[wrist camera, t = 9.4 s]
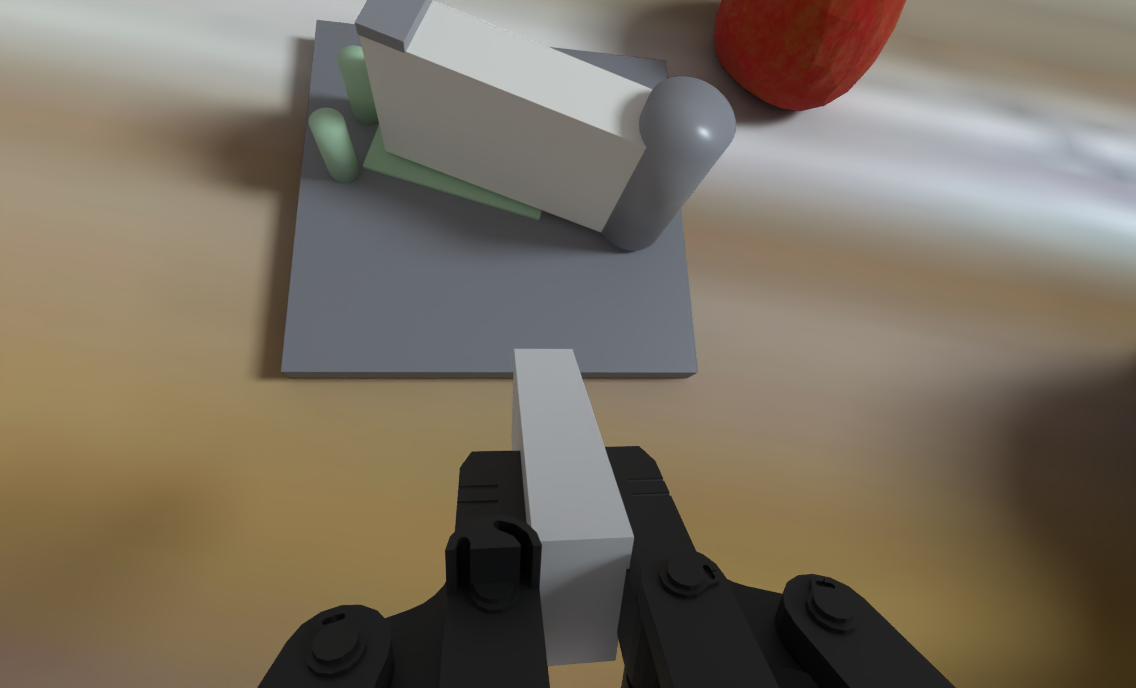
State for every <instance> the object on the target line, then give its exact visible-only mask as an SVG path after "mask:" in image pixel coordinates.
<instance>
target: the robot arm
mask: <svg viewBox="0 0 1136 688" xmlns="http://www.w3.org/2000/svg"><path fill="white" fill-rule="evenodd" d="M445 560H446V583H445V584H444V586H443V587H442V588H441V589H440V590H439V591H438V592H437V593H436V594H435V595H434V596H433V597H432V598H430V599H429V600H427V601H426V602H425V603H423V604H421V605H419V606H417V607H414V608H412V609H410V610H407V611H405V612H402V613H399V614H396V615H393V616H390V617H387V618H384V617H383V616H382V615H381V614H380V613H379V612H378V611H377V610H374V609H371V608H369V607H366V606H363V605H341V606H338V607H335V608H332V609H329V610H326V611H323V612H320V613H319V614H317V615H316V616H314V617H313V618H311V619H310V620H308V621H307V622H305V623H303V624H302V625H301V626H300V627H299V628H298V629H297V631H296V632H295V633H294V634H293V635H292V636H291V637H290V639H289V640H288V641H287V642H286V644H285V645H284V647H283V649H282V650H281V652H280V653H279V655H278V656H277V658H276V659H275V661H274V663H273V664H272V666H271V667H270V669H269V670H268V672H267V673H266V675H265V677H264V678H263V680H262V681H261V683H260V684H259V686H258V688H550V684H549V675H548V666H553V665H565V664H577V663H590V662H602V661H614V660H615V659H616V653H617V646H618V639H619V644H620V648H621V652H622V656H623V661H624V665H625V667H624V673H623V680H622V686H621V688H955V687H954V686H953V685H952V684H951V683H950V682H949V681H948V680H947V679H946V678H945V677H944V676H943V675H942V674H941V673H940V672H939V671H938V670H937V669H936V668H935V667H934V666H933V665H932V664H931V663H930V662H929V661H928V660H927V659H926V658H925V657H924V656H923V655H922V654H921V653H919V652H918V651H917V650H916V649H915V648H914V647H913V646H912V645H911V644H910V643H909V642H908V641H907V640H906V639H905V638H904V637H903V636H902V635H901V634H900V633H899V632H898V631H897V630H896V629H895V628H894V627H893V626H892V625H891V624H890V623H889V622H888V621H887V620H886V619H885V618H884V617H883V616H882V615H881V614H879V613H878V612H877V611H876V610H875V609H874V608H873V607H872V606H871V605H870V604H869V603H868V602H867V601H866V600H865V599H864V598H863V597H862V596H860V595H859V594H858V593H856V592H855V591H854V590H852V589H851V588H850V587H849V586H847V585H845V584H843V583H840V582H838V581H836V580H834V579H832V578H830V577H825V576H820V575H815V574H807V575H798V576H796V577H795V578H793V579H791V580H790V581H788V582H787V584H786V586H785V589H784V591H783V594H781V593H776V592H771V591H767V590H762V589H758V588H753V587H748V586H745V585H741V584H738V583H735V582H732V581H730V580H728V579H726V577H725V576H724V574H723V573H722V571H721V570H720V569H719V567H718V566H717V565H716V564H715V563H714V562H713V561H711V560H710V559H709V558H707V557H706V556H705V555H703V554H701V553H699V552H697V551H696V550H695V548H694V545H693V543H692V541H691V539H690V537H689V534H688V532H687V530H686V528H685V526H684V523H683V521H682V519H681V517H680V515H679V512H678V510H677V508H676V506H675V504H674V501H673V499H672V497H671V496H670V495H669V490H668V488H667V486H666V484H665V481H663V477H662V475H661V473H660V470H659V468H658V466H657V464H656V462H655V460H654V459H653V458H652V457H650V456H649V455H648V454H647V453H646V452H645V451H644V450H643V449H642V448H640V447H639V446H625V447H604V443H603V440H602V437H601V434H600V431H599V428H598V425H597V422H596V419H595V416H594V413H593V410H592V407H591V404H590V401H589V398H588V395H587V392H586V389H585V386H584V383H583V379H582V376H581V373H580V370H579V367H578V364H577V361H576V358H575V355H574V352H573V349H514V372H513V408H512V451H479V452H471V453H470V455H469V456H468V457H467V459H466V460H465V462H464V463H463V464H462V466H461V467H460V474H459V489H458V499H457V512H456V525H455V532H454V533H453V534H452V535H451V536H450V538H449V541H448V544H447V547H446V550H445Z"/></svg>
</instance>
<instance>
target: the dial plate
mask: <svg viewBox="0 0 1136 688" xmlns="http://www.w3.org/2000/svg"><path fill="white" fill-rule="evenodd" d="M550 48H552V49H555V50H557V51H560V52H562V53H565V54H567V55H570V56H572V57H574V58H577V59H579V60H582V61H584V62H587V63H589V64H592V65H594V66H596V67H599V68H601V69H604V70H606V71H609V72H611V73H614V74H616V75H619V76H621V77H623V78H626V79H628V80H631V81H633V82H636V83H638V84H641V85H643V86H645V87H648V88H650V89H653V88H654V87H655V86H656V85H657V84H658V83H660V82H661V81H663V80H665V79H668V78H667V68H666V61H664V60H655V59H647V58H638V57H630V56H621V55H613V54H604V53H596V52H587V51H578V50H570V49H561V48H553V47H550ZM514 349H573V352H574V355H575V358H576V361H577V364H578V367H579V370H580V373H581V376H582V378H688V377H690V376H692V375H694V374H696V373H698V368H697V359H696V349H695V339H694V330H693V320H692V310H691V301H690V291H689V281H688V272H687V262H686V252H685V242H684V233H683V223H682V213H681V209H680V210H679V211H678V212H677V214H676V215H675V216H674V218H673V219H672V220H671V222H670V223H669V224H668V226H667V227H666V228H665V229H664V231H663V232H662V233H661V235H660V236H659V237H658V239H657V240H656V241H655V242H654V243H653V244H652V245H650V246H649V247H647V248H645V249H641V250H634V251H633V250H625V249H622V248H619V247H617V246H615V245H613V244H612V243H610V242H609V241H608V240H607V239H606V238H605V237H604V236H603V235H602V233H601V232H598V231H596V230H593V229H590V228H588V227H585V226H582V225H580V224H577V223H575V222H572V221H569V220H567V219H564V218H561V217H559V216H556V215H553V214H551V213H548V212H545V211H543V210H540V209H538V208H535V207H532V206H530V205H527V204H524V203H522V202H519V201H516V200H514V199H511V198H508V197H506V196H503V195H501V194H498V193H495V192H493V191H490V190H487V189H485V188H482V187H479V186H477V185H474V184H471V183H469V182H466V181H464V180H461V179H458V178H456V177H453V176H450V175H448V174H445V173H442V172H440V171H437V170H434V169H432V168H429V167H427V166H424V165H421V164H419V163H416V162H413V161H411V160H408V159H405V158H403V157H400V156H397V155H395V154H392V153H390V152H387V151H385V147H384V143H383V138H382V134H381V130H380V125H379V121H378V116H377V112H376V108H375V103H374V99H373V94H372V90H371V85H370V81H369V77H368V72H367V68H366V63H365V59H364V55H363V50H362V46H361V41H360V37H359V35H358V34H357V30H356V26H355V24H348V23H339V22H331V21H322V20H317V22H316V32H315V42H314V52H313V61H312V71H311V81H310V91H309V101H308V110H307V120H306V130H305V140H304V150H303V159H302V169H301V179H300V189H299V198H298V208H297V218H296V228H295V238H294V247H293V257H292V267H291V277H290V287H289V296H288V306H287V316H286V326H285V335H284V345H283V355H282V365H281V372H282V373H283V374H285V375H286V376H288V377H289V378H513V372H514Z"/></svg>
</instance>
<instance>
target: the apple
mask: <svg viewBox="0 0 1136 688" xmlns="http://www.w3.org/2000/svg"><path fill="white" fill-rule="evenodd" d="M905 2H906V0H721V3H720V6H719V9H718V12H717V16H716V23H715V31H714V42H715V47H716V51H717V56H718V58H719V60H720V62H721V64H722V66H723V68H724V69H725V70H726V71H727V72H728V73H729V74H730V75H731V76H732V77H733V78H734V79H735V80H736V82H737V83H738V84H739V85H740V86H741V87H743V88H744V89H746V90H747V91H749V92H750V93H752V94H753V95H755V96H756V97H758V98H759V99H761V100H762V101H764V102H766V103H769V104H772V105H774V106H777V107H779V108H782V109H790V110H798V111H803V110H807V109H812V108H816V107H821V106H825V105H826V104H828V103H830V102H831V101H833V100H835V99H836V98H838V97H840V96H841V95H843V94H845V93H846V92H848V91H849V90H850V89H851V88H852V87H853V85H854V84H855V83H856V82H857V81H858V80H859V79H860V78H861V77H862V76H863V75H864V73H865V72H866V71H867V70H868V69H869V68H870V67H871V65H872V64H873V63H874V62H875V60H876V59H877V57H878V55H879V54H880V52H881V50H882V49H883V47H884V45H885V44H886V42H887V40H888V38H889V37H890V35H891V33H892V32H893V30H894V28H895V26H896V24H897V22H898V19H899V17H900V14H901V12H902V9H903V7H904V4H905Z"/></svg>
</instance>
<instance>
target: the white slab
mask: <svg viewBox="0 0 1136 688" xmlns="http://www.w3.org/2000/svg"><path fill="white" fill-rule="evenodd" d="M355 26H356V30H357V34H358V35H359V37H360V41H361V46H362V50H363V55H364V59H365V63H366V68H367V72H368V77H369V81H370V85H371V90H372V94H373V99H374V103H375V108H376V112H377V116H378V121H379V125H380V130H381V134H382V138H383V143H384V147H385V151H387V152H390V153H392V154H395V155H397V156H400V157H403V158H405V159H408V160H411V161H413V162H416V163H419V164H421V165H424V166H427V167H429V168H432V169H434V170H437V171H440V172H442V173H445V174H448V175H450V176H453V177H456V178H458V179H461V180H464V181H466V182H469V183H471V184H474V185H477V186H479V187H482V188H485V189H487V190H490V191H493V192H495V193H498V194H501V195H503V196H506V197H508V198H511V199H514V200H516V201H519V202H522V203H524V204H527V205H530V206H532V207H535V208H538V209H540V210H543V211H545V212H548V213H551V214H553V215H556V216H559V217H561V218H564V219H567V220H569V221H572V222H575V223H577V224H580V225H582V226H585V227H588V228H590V229H593V230H596V231H598V232H601V233H602V235H603V236H604V237H605V238H606V239H607V240H608V241H609V242H610V243H612V244H613V245H615V246H617V247H619V248H622V249H625V250H633V251H634V250H641V249H645V248H647V247H649V246H650V245H652V244H653V243H654V242H655V241H656V240H657V239H658V237H659V236H660V235H661V233H662V232H663V231H664V229H665V228H666V227H667V226H668V224H669V223H670V222H671V220H672V219H673V218H674V216H675V215H676V214H677V212H678V211H679V210H680V209H681V207H682V206H683V205H684V203H685V202H686V201H687V199H688V198H689V197H690V196H691V194H692V193H693V192H694V190H695V189H696V188H697V186H698V185H699V184H700V182H701V181H702V180H703V179H704V177H705V176H706V175H707V173H708V172H709V171H710V169H711V168H712V167H713V165H714V164H715V163H716V162H717V160H718V159H719V158H720V156H721V155H722V154H723V152H724V151H725V150H726V148H727V147H728V146H729V145H730V143H731V142H732V140H733V138H734V135H735V130H736V120H735V115H734V112H733V109H732V107H731V105H730V104H729V102H728V100H727V99H726V98H725V97H724V95H723V94H722V93H721V92H720V91H719V90H717V89H716V88H715V87H714V86H712V85H710V84H709V83H707V82H705V81H703V80H700V79H697V78H694V77H688V76H676V77H671V78H668V79H665V80H663V81H661V82H660V83H658V84H657V85H656V86H655V87H654V88H653V89H650V88H648V87H645V86H643V85H641V84H638V83H636V82H633V81H631V80H628V79H626V78H623V77H621V76H619V75H616V74H614V73H611V72H609V71H606V70H604V69H601V68H599V67H596V66H594V65H592V64H589V63H587V62H584V61H582V60H579V59H577V58H574V57H572V56H570V55H567V54H565V53H562V52H560V51H557V50H555V49H552V48H550V47H547V46H545V45H543V44H540V43H538V42H535V41H533V40H530V39H528V38H525V37H523V36H520V35H518V34H516V33H513V32H511V31H508V30H506V29H503V28H501V27H498V26H496V25H494V24H491V23H489V22H486V21H484V20H481V19H479V18H476V17H474V16H471V15H469V14H467V13H464V12H462V11H459V10H457V9H454V8H452V7H449V6H447V5H445V4H442V3H440V2H437V1H435V0H367V2H366V4H365V5H364V7H363V9H362V11H361V12H360V14H359V16H358V17H357V19H356V21H355Z"/></svg>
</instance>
